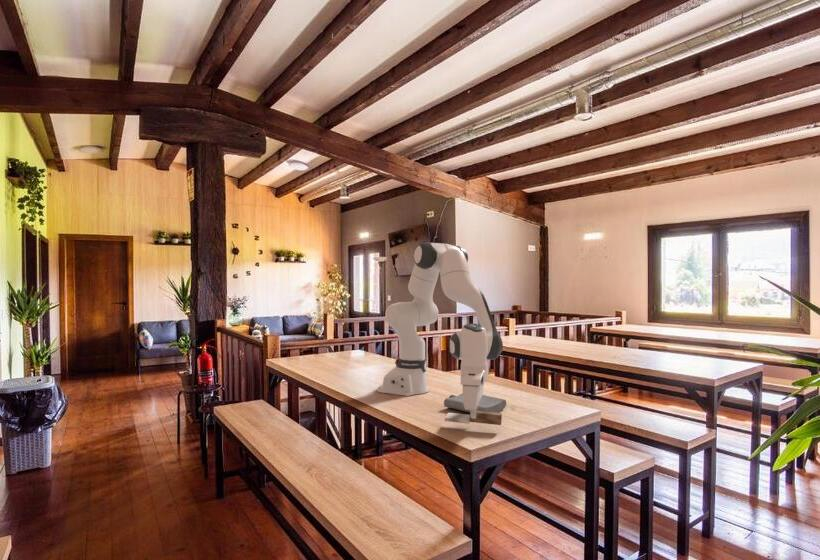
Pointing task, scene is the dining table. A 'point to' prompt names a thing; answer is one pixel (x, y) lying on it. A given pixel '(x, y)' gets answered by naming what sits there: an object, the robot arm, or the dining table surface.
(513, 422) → the dining table surface
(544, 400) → the dining table surface
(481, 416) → the spatula
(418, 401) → the dining table surface
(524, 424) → the dining table surface
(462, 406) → the hip flask
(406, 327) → the robot arm
